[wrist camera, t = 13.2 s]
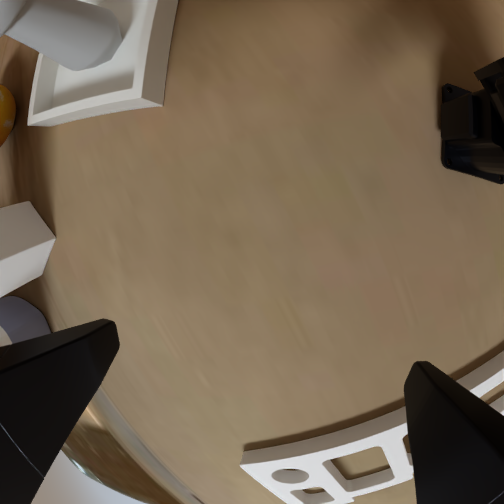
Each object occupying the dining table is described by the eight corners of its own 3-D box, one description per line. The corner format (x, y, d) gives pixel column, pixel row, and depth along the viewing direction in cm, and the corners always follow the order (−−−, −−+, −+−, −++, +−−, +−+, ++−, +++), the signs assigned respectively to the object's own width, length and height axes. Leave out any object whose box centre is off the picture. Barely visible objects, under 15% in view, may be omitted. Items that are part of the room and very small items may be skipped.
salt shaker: (73, 51, 17) (-36, 23, 4) (117, 8, 15) (16, -47, 3) (90, 88, 18) (-39, 67, 5) (141, 41, 16) (19, -21, 4)
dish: (183, -23, 14) (169, -41, 11) (163, 105, 18) (141, 97, 15) (72, 15, 16) (53, 6, 13) (50, 126, 20) (27, 125, 17)
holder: (569, 288, 16) (581, 297, 13) (553, 381, 19) (560, 390, 16) (242, 448, 28) (238, 465, 26) (299, 498, 31) (298, 511, 29)
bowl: (53, 295, 26) (-17, 341, 15) (83, 393, 30) (40, 444, 20) (-6, 272, 28) (-59, 301, 17) (21, 358, 32) (-20, 392, 22)
